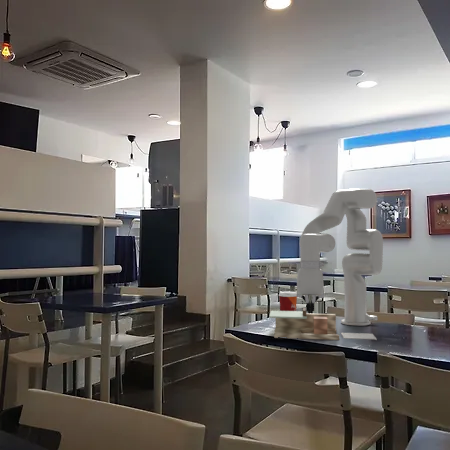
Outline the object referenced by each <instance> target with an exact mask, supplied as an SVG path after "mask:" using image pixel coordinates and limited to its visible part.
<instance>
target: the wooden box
mask: <svg viewBox="0 0 450 450" xmlns="http://www.w3.org/2000/svg"><path fill="white" fill-rule="evenodd" d="M306 316H307V319H295V318H274V319H275V323H274V324H275V327H274V334H273V337H274V338H275V339H279V338H278V337H287V338H286V339H297V338H298V339H301V340H329V341H331V340H332V341H333V340H334V341H339V340H340V334H337V333H338V332H337V323H336V322H337V319H336V318H337V315H336V313H313V314H311V313H310V314H309V313H308V312H306ZM313 317H327V334H314V332H313Z"/></svg>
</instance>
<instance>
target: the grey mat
mask: <svg viewBox="0 0 450 450" xmlns="http://www.w3.org/2000/svg"><path fill="white" fill-rule="evenodd" d="M340 334H341V336H342V338H343V339H346V340H347V339H349V340H350V339H351V340H353V339H354V340H375V341H377V339H378V338H377V337H376V336H375V335H374V334H373V333H366V332H365V333H363V332H362V333H361V332H359V333H356V332H341V333H340Z"/></svg>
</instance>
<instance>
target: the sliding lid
mask: <svg viewBox="0 0 450 450" xmlns="http://www.w3.org/2000/svg"><path fill="white" fill-rule="evenodd" d="M306 313H307V311H306V307H302V311H301V310H296V311H280V310H270V312H269V317H268V318H270V319H275V318H295V319H307V316H306Z"/></svg>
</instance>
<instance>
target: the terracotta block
mask: <svg viewBox="0 0 450 450" xmlns="http://www.w3.org/2000/svg"><path fill="white" fill-rule="evenodd" d="M313 332H314V334H327V317H313Z"/></svg>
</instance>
